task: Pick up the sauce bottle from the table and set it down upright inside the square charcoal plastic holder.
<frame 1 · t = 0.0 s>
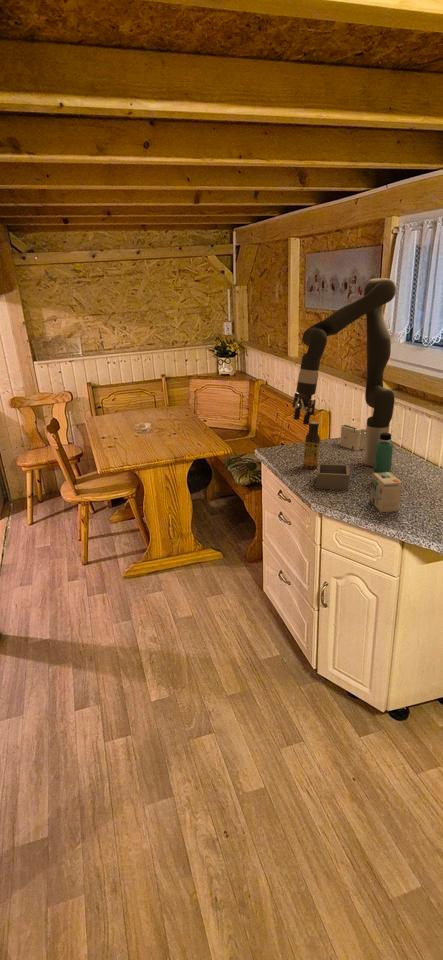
hand: (300, 421, 204), 22 cm above the worktop, tool pointing down, fingers open, 8 cm apart
sauce bottle: (310, 467, 220), on the worktop
light bulb box: (384, 506, 181), on the worktop
bottle holder: (332, 483, 202), on the worktop
beverage bottle: (381, 482, 202), on the worktop
hinge: (353, 448, 244), on the worktop
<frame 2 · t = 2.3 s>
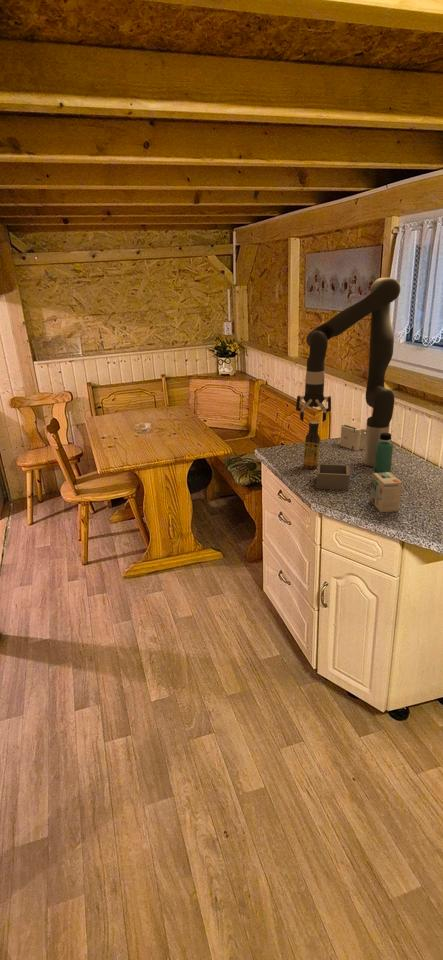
hand: (312, 420, 212), 20 cm above the worktop, tool pointing down, fingers open, 8 cm apart
nothing on the worktop moved.
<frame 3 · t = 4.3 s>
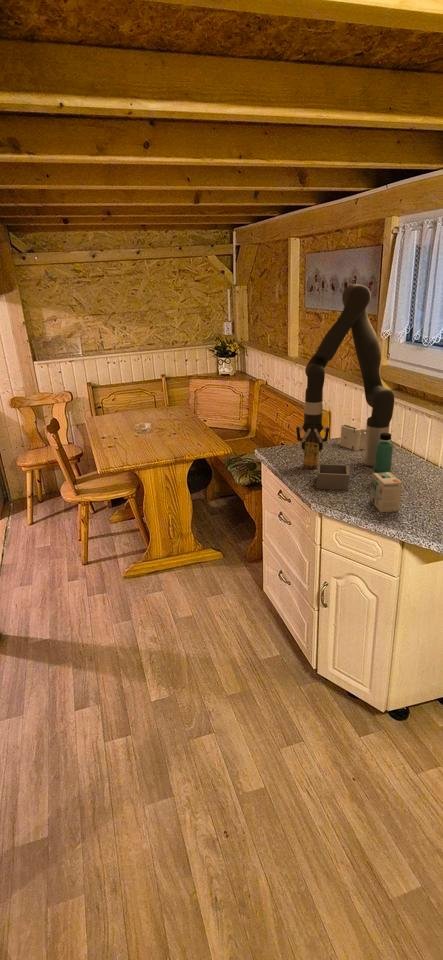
hand: (311, 450, 217), 8 cm above the worktop, tool pointing down, fingers closed on sauce bottle, 6 cm apart
sauce bottle: (310, 467, 220), on the worktop, touching gripper
everything else where it was.
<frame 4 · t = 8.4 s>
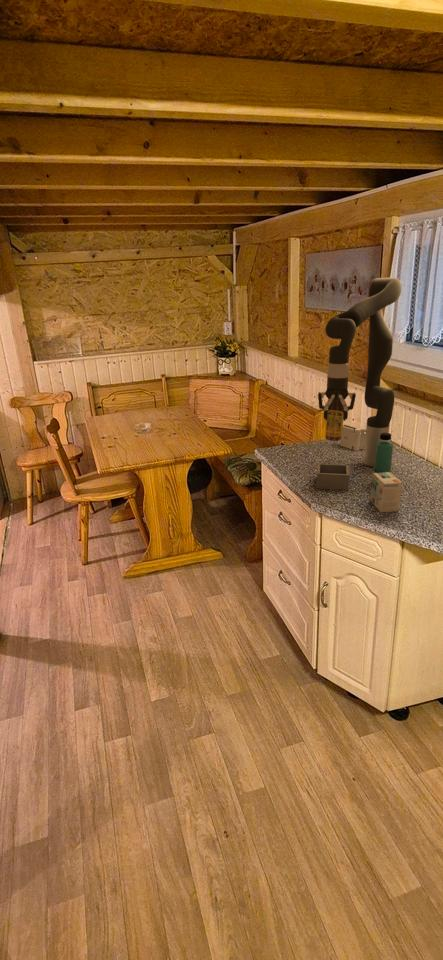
hand: (335, 419, 193), 26 cm above the worktop, tool pointing down, fingers closed on sauce bottle, 6 cm apart
sauce bottle: (333, 439, 196), point 18 cm above the worktop, touching gripper
everything else where it was.
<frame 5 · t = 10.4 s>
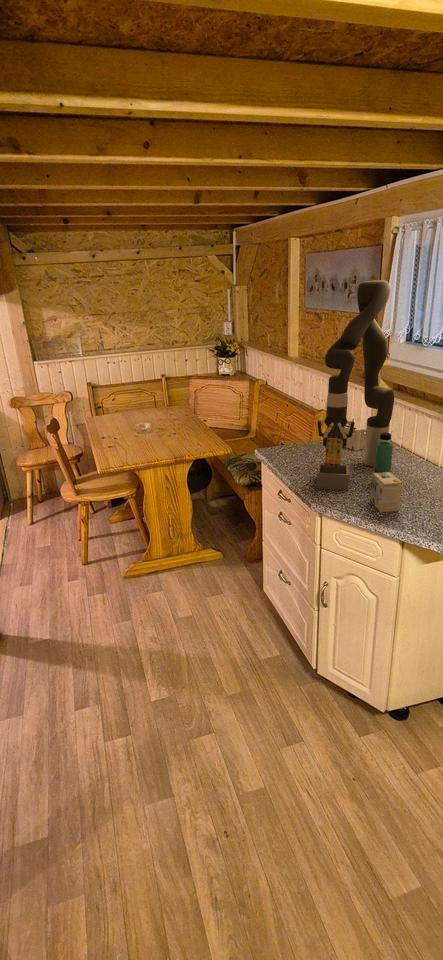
hand: (334, 446, 196), 15 cm above the worktop, tool pointing down, fingers closed on sauce bottle, 6 cm apart
sauce bottle: (332, 466, 199), point 7 cm above the worktop, touching gripper
everything else where it was.
when the fingers open (10 cm above the worktop, at t = 12.4 s): sauce bottle drops 1 cm, resting on bottle holder.
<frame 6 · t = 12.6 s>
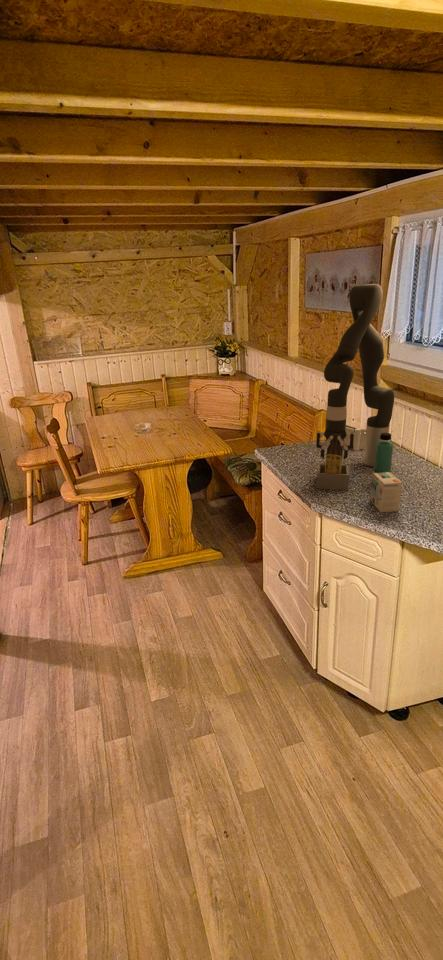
hand: (333, 458, 198), 10 cm above the worktop, tool pointing down, fingers open, 7 cm apart
sauce bottle: (332, 481, 201), point 1 cm above the worktop, touching bottle holder
everything else where it was.
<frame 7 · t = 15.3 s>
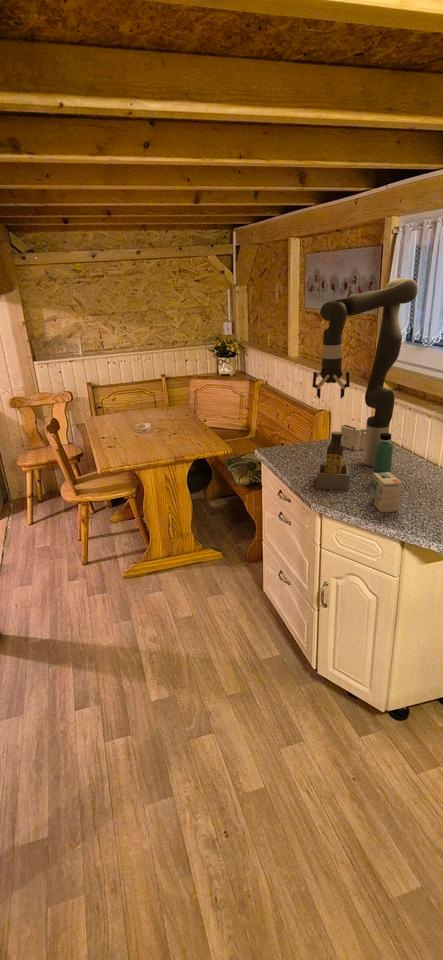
hand: (330, 397, 203), 31 cm above the worktop, tool pointing down, fingers open, 8 cm apart
nothing on the worktop moved.
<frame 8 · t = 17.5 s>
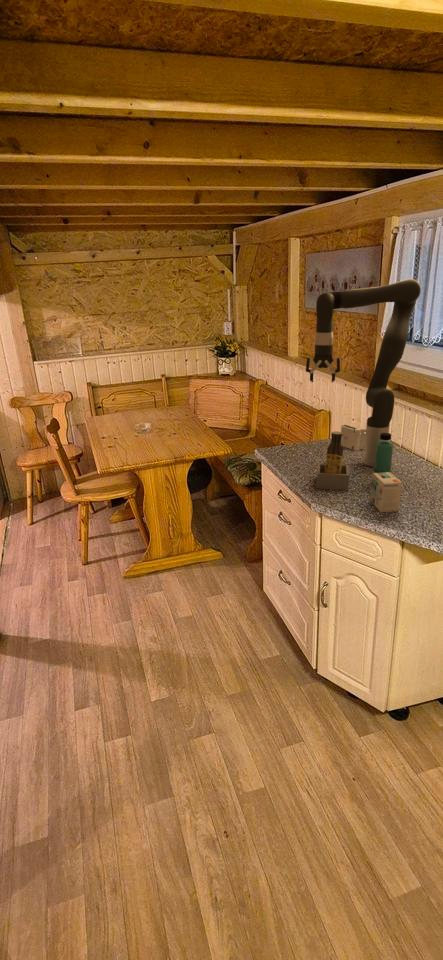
hand: (322, 382, 220), 34 cm above the worktop, tool pointing down, fingers open, 8 cm apart
nothing on the worktop moved.
at the end: sauce bottle 0.1 cm off-centre on the bottle holder, point 0.8 cm above the bottle holder's base; sauce bottle tilted 0°; the gripper is holding nothing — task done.
